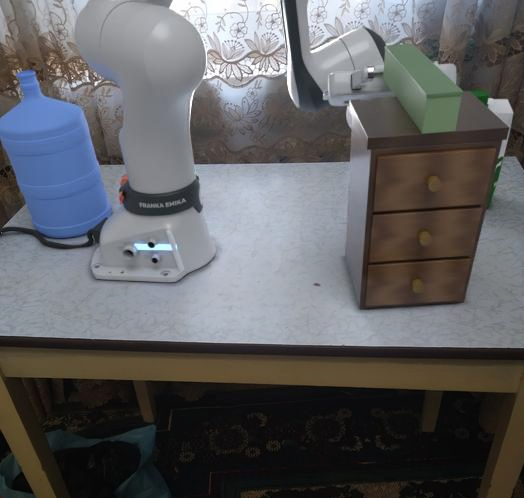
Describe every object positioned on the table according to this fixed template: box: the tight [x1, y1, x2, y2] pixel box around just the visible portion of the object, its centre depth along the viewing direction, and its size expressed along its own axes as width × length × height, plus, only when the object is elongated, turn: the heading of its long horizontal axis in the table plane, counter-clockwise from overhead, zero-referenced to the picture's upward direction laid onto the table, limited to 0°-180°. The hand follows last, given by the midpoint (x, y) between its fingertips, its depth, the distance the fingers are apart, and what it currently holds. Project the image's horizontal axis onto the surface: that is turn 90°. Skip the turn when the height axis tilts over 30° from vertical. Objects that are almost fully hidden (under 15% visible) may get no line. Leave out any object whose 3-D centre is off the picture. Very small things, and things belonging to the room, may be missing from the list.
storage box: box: [383, 43, 464, 134], centre depth 71 cm, size 4×24×4 cm, turn 1°
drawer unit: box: [345, 90, 509, 310], centre depth 77 cm, size 17×17×26 cm
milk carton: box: [468, 89, 514, 210], centre depth 98 cm, size 9×9×20 cm
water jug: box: [0, 69, 112, 239], centre depth 99 cm, size 16×16×28 cm
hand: (401, 69), depth 77 cm, fingers open, 8 cm apart
